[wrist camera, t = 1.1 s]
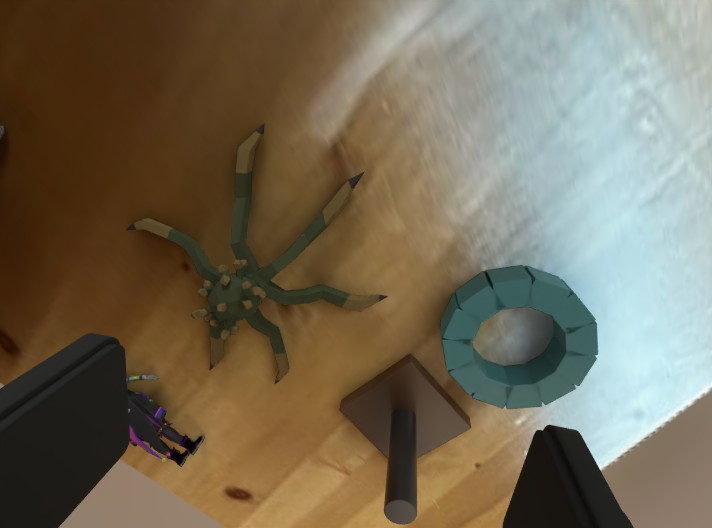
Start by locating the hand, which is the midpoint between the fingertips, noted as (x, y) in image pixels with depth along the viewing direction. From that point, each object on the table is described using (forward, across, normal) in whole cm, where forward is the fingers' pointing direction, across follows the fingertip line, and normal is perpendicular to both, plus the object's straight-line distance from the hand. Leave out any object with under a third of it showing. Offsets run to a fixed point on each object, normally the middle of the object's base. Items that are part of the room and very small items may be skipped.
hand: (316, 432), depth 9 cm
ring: (+27, -12, +9) cm, 31 cm away
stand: (+27, -5, +20) cm, 34 cm away
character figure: (+27, +23, +26) cm, 44 cm away
